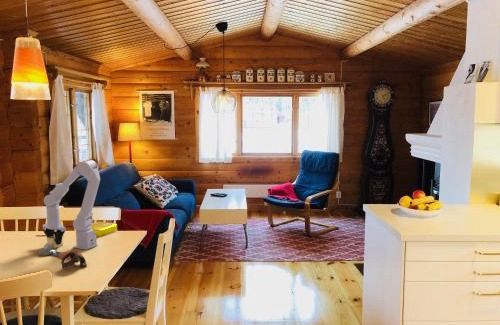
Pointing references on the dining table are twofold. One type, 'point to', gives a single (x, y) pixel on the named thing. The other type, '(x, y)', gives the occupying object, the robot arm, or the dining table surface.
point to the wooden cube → (53, 242)
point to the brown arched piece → (73, 259)
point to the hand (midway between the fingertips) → (55, 243)
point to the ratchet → (51, 252)
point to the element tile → (103, 228)
